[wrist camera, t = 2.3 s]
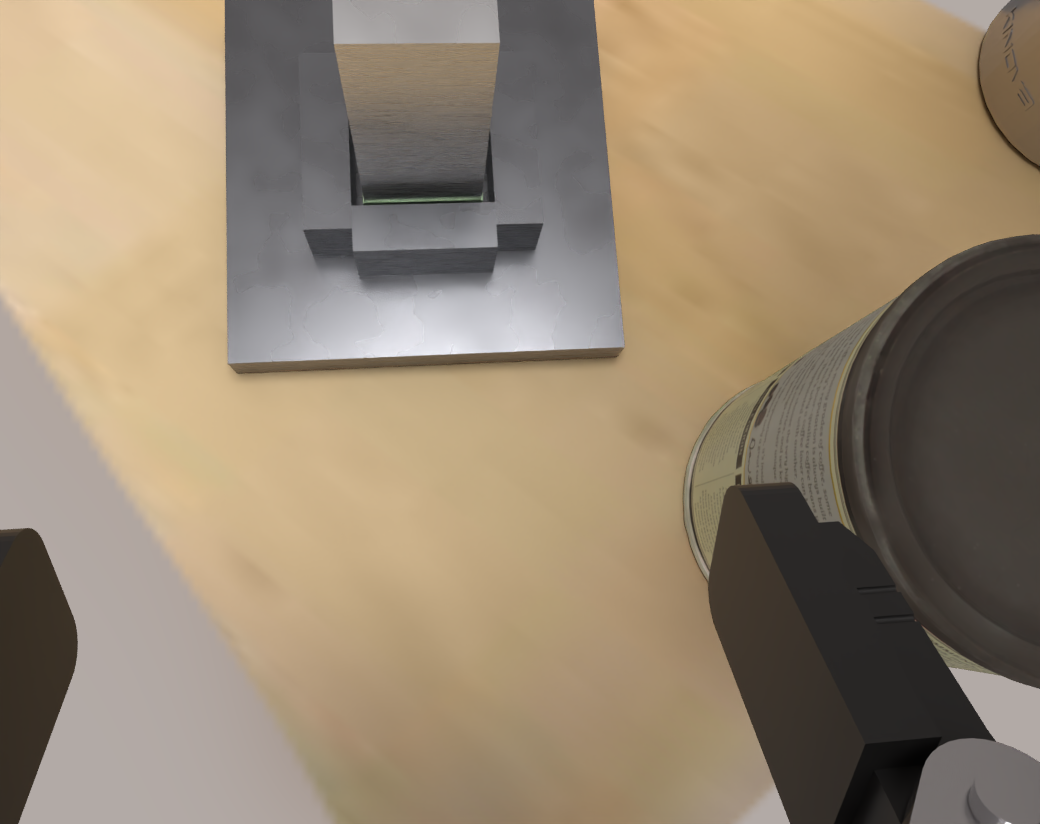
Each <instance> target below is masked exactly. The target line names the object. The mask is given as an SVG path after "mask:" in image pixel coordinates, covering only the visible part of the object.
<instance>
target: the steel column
mask: <svg viewBox="0 0 1040 824" xmlns="http://www.w3.org/2000/svg"><path fill="white" fill-rule="evenodd" d="M332 4H333V35H334V48H335V53H336V58H337V63H338V68H339V73H340V78H341V84H342V89H343V94H344V99H345V104H346V109H347V114H348V120H349V125H350V130H351V135H352V140H353V145H354V150H355V156H356V161H357V166H358V171H359V176H360V181H361V186H362V192H363V205H398V204H438V203H479V202H483V182H484V174H485V165H486V157H487V148H488V140H489V131H490V123H491V114H492V106H493V97H494V89H495V81H496V72H497V64H498V55H499V47H500V37H499V22H498V7H497V0H332Z"/></svg>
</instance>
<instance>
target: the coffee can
mask: <svg viewBox="0 0 1040 824" xmlns="http://www.w3.org/2000/svg"><path fill="white" fill-rule="evenodd" d="M780 482H792V483H793V484H795V485H796V486H797V487H798V488H799V490H800V491H801V493H802V495H803V497H804V498H805V500H806V502H807V503H808V505H809V507H810V509H811V510H812V512H813V514H814V516H815V517H816V519H817V521H818V522H819V523H820V522H835V521H839V522H840V523H841V524H843V525H844V526H845V527H846V528H848V529H849V530H850V531H851V532H852V533H854V534H855V535H856V536H857V537H859V538H860V539H861V540H862V541H864V542H865V543H866V544H867V545H868V546H870V547H871V548H872V549H873V550H874V551H875V552H876V554H877V556H878V557H879V559H880V560H881V562H882V563H883V565H884V567H885V568H886V570H887V571H888V573H889V575H890V576H891V578H892V579H893V581H894V582H895V584H896V591H897V592H901V594H902V595H903V597H904V598H905V600H906V601H907V603H908V605H909V606H910V608H911V609H912V611H913V613H914V619H915V621H919V622H920V624H921V625H922V627H923V628H924V630H925V632H926V633H927V635H928V636H929V638H930V639H931V641H932V643H933V644H934V646H935V647H936V649H937V651H938V652H939V654H940V655H941V657H942V659H943V660H944V662H945V663H946V665H947V666H948V667H952V668H959V669H966V670H972V671H977V672H984V673H989V674H995V675H1001V676H1004V677H1006V678H1008V679H1011V680H1013V681H1016V682H1019V683H1022V684H1025V685H1029V686H1032V687H1036V688H1039V689H1040V235H1034V234H1032V235H1024V236H1015V237H1010V238H1005V239H1000V240H995V241H990V242H987V243H984V244H981V245H978V246H975V247H973V248H970V249H968V250H965V251H963V252H961V253H959V254H957V255H955V256H953V257H950V258H948V259H947V260H945V261H944V262H942V263H941V264H939V265H937V266H936V267H934V268H933V269H931V270H930V271H928V272H927V273H925V274H924V275H923V276H921V277H920V278H919V279H918V280H916V281H915V282H914V283H913V284H912V285H910V286H909V287H908V288H907V289H906V290H905V291H904V292H903V293H902V294H901V295H900V296H898V297H896V298H895V299H893V300H892V301H890V302H888V303H887V304H885V305H884V306H882V307H880V308H879V309H877V310H876V311H874V312H872V313H871V314H869V315H867V316H866V317H864V318H863V319H861V320H859V321H858V322H856V323H855V324H853V325H851V326H850V327H848V328H847V329H845V330H843V331H842V332H840V333H839V334H837V335H835V336H834V337H832V338H830V339H829V340H827V341H826V342H824V343H823V344H821V345H819V346H818V347H816V348H814V349H812V350H811V351H809V352H808V353H806V354H804V355H803V356H802V357H800V358H798V359H797V360H795V361H794V362H792V363H790V364H789V365H787V366H786V367H784V368H782V369H781V370H779V371H778V372H776V373H775V374H773V375H771V376H770V377H768V378H767V379H765V380H763V381H761V382H759V383H757V384H754V385H752V386H750V387H748V388H747V389H745V390H743V391H741V392H740V393H738V394H737V395H735V396H734V397H733V398H731V399H730V400H729V401H728V402H726V403H725V404H724V405H723V406H722V407H721V408H720V409H719V410H718V411H717V412H716V413H715V414H714V415H713V416H712V417H711V418H710V420H709V421H708V423H707V424H706V426H705V427H704V429H703V431H702V433H701V434H700V436H699V438H698V440H697V441H696V444H695V446H694V448H693V451H692V453H691V456H690V459H689V463H688V466H687V469H686V476H685V483H684V493H683V503H684V523H685V527H686V530H687V533H688V537H689V541H690V545H691V548H692V551H693V553H694V556H695V558H696V560H697V563H698V565H699V567H700V569H701V571H702V572H703V574H704V576H705V577H706V579H707V581H708V582H709V572H710V567H711V562H712V556H713V551H714V546H715V541H716V535H717V530H718V525H719V520H720V515H721V509H722V504H723V499H724V495H725V493H726V491H727V489H728V488H729V487H730V486H733V485H748V484H764V483H780Z"/></svg>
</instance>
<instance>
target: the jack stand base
mask: <svg viewBox="0 0 1040 824" xmlns="http://www.w3.org/2000/svg"><path fill="white" fill-rule="evenodd" d="M497 7H498V22H499V37H500V47H499V55H498V64H497V72H496V81H495V89H494V97H493V106H492V114H491V123H490V131H489V140H488V148H487V157H486V165H485V174H484V182H483V202H479V203H438V204H398V205H363V192H362V186H361V181H360V176H359V171H358V166H357V161H356V156H355V150H354V145H353V140H352V135H351V130H350V125H349V120H348V114H347V109H346V104H345V99H344V94H343V89H342V84H341V78H340V73H339V68H338V63H337V58H336V53H335V48H334V35H333V4H332V0H225V80H226V201H227V322H228V364H229V365H230V366H231V367H232V368H233V369H234V370H235V371H236V372H237V373H258V372H281V371H304V370H327V369H350V368H373V367H397V366H420V365H443V364H466V363H489V362H513V361H536V360H559V359H582V358H605V357H617V356H618V355H619V353H620V352H621V351H622V350H623V349H624V347H625V344H624V333H623V322H622V311H621V300H620V289H619V277H618V266H617V255H616V244H615V233H614V222H613V211H612V200H611V189H610V177H609V166H608V155H607V144H606V133H605V122H604V111H603V100H602V89H601V77H600V66H599V55H598V44H597V33H596V22H595V11H594V0H497Z"/></svg>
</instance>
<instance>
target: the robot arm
mask: <svg viewBox="0 0 1040 824" xmlns="http://www.w3.org/2000/svg"><path fill="white" fill-rule="evenodd" d="M979 68H980V84H981V87H982V91H983V94H984V98H985V101H986V105H987V107H988V109H989V111H990V113H991V115H992V117H993V119H994V121H995V123H996V124H997V126H998V127H999V129H1000V130H1001V131H1002V132H1003V134H1004V135H1005V136H1006V138H1007V139H1008V140H1009V142H1010V143H1011V144H1012V145H1013V146H1014V147H1015V148H1017V149H1018V150H1019V151H1020V152H1021V153H1022V154H1023V155H1024V156H1025V157H1027V158H1028V159H1029V160H1030V161H1032V162H1034V163H1035V164H1037V165H1039V166H1040V0H1011V1H1010V2H1009V3H1008V4H1007V5H1006V6H1005V7H1004V8H1003V9H1002V10H1001V11H1000V12H999V14H998V15H997V16H996V18H995V19H994V20H993V21H992V23H991V24H990V26H989V28H988V31H987V33H986V35H985V38H984V40H983V42H982V48H981V54H980V60H979ZM708 591H709V603H710V609H711V614H712V618H713V622H714V625H715V628H716V631H717V633H718V636H719V638H720V641H721V644H722V646H723V649H724V652H725V654H726V657H727V659H728V662H729V665H730V667H731V670H732V672H733V675H734V678H735V680H736V683H737V686H738V688H739V691H740V693H741V696H742V699H743V701H744V704H745V707H746V709H747V712H748V714H749V717H750V720H751V722H752V725H753V727H754V730H755V733H756V735H757V738H758V741H759V743H760V746H761V748H762V751H763V754H764V756H765V759H766V762H767V764H768V767H769V769H770V772H771V775H772V777H773V780H774V782H775V785H776V788H777V790H778V793H779V796H780V798H781V800H782V803H783V806H784V809H785V811H786V814H787V817H788V819H789V822H790V824H1040V762H1038V761H1036V760H1035V759H1033V758H1032V757H1030V756H1028V755H1027V754H1025V753H1023V752H1021V751H1019V750H1017V749H1015V748H1013V747H1010V746H1007V745H1004V744H1002V743H999V742H996V741H995V739H994V738H993V737H992V735H991V734H990V733H989V731H988V730H987V729H986V727H985V725H984V724H983V722H982V720H981V719H980V717H979V716H978V714H977V712H976V711H975V709H974V708H973V706H972V704H971V703H970V701H969V700H968V698H967V697H966V695H965V694H964V692H963V691H962V689H961V687H960V685H959V684H958V683H957V681H956V679H955V678H954V676H953V674H952V673H951V671H950V670H949V668H948V666H947V665H946V663H945V662H944V660H943V659H942V657H941V655H940V654H939V652H938V651H937V649H936V647H935V646H934V644H933V643H932V641H931V639H930V638H929V636H928V635H927V633H926V632H925V630H924V628H923V627H922V625H921V624H920V622H919V621H915V619H914V613H913V611H912V609H911V608H910V606H909V605H908V603H907V601H906V600H905V598H904V597H903V595H902V594H901V592H897V591H896V584H895V582H894V581H893V579H892V578H891V576H890V575H889V573H888V571H887V570H886V568H885V567H884V565H883V563H882V562H881V560H880V559H879V557H878V556H877V554H876V552H875V551H874V550H873V549H872V548H871V547H870V546H868V545H867V544H866V543H865V542H864V541H862V540H861V539H860V538H859V537H857V536H856V535H855V534H854V533H852V532H851V531H850V530H849V529H848V528H846V527H845V526H844V525H843V524H841V523H840V522H839V521H835V522H820V523H819V522H818V521H817V519H816V517H815V516H814V514H813V512H812V510H811V509H810V507H809V505H808V503H807V502H806V500H805V498H804V497H803V495H802V493H801V491H800V490H799V488H798V487H797V486H796V485H795V484H793V483H792V482H780V483H764V484H748V485H733V486H730V487H729V488H728V489H727V491H726V493H725V495H724V499H723V504H722V509H721V515H720V520H719V525H718V530H717V535H716V541H715V546H714V551H713V556H712V562H711V567H710V572H709V582H708ZM77 644H78V641H77V630H76V624H75V620H74V617H73V615H72V613H71V610H70V607H69V605H68V602H67V600H66V597H65V595H64V592H63V590H62V587H61V585H60V582H59V580H58V577H57V575H56V572H55V570H54V567H53V565H52V563H51V560H50V558H49V555H48V553H47V550H46V548H45V545H44V543H43V541H42V539H41V537H40V535H39V534H38V533H37V532H36V531H35V530H33V529H30V528H25V529H8V530H0V824H18V823H19V820H20V817H21V815H22V812H23V809H24V807H25V804H26V801H27V798H28V796H29V793H30V790H31V787H32V785H33V782H34V779H35V777H36V774H37V771H38V769H39V765H40V763H41V760H42V757H43V755H44V752H45V750H46V747H47V744H48V741H49V739H50V736H51V733H52V731H53V728H54V725H55V722H56V720H57V717H58V714H59V712H60V709H61V706H62V703H63V701H64V698H65V695H66V692H67V690H68V687H69V684H70V682H71V679H72V676H73V673H74V669H75V665H76V658H77Z"/></svg>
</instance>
